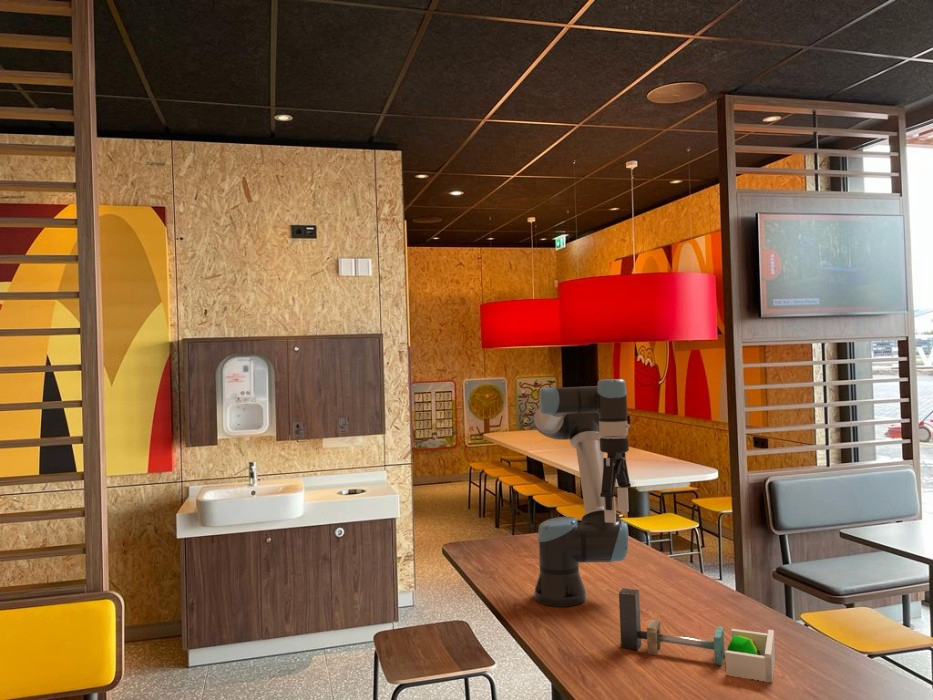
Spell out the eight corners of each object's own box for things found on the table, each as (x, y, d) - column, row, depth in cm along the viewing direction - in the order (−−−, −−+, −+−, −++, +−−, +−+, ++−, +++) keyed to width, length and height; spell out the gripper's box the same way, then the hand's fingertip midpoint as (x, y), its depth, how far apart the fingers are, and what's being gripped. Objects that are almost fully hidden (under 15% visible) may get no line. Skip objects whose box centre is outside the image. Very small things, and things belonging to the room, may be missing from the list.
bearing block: (647, 653, 158) (646, 627, 158) (652, 644, 163) (651, 619, 163) (656, 655, 157) (655, 628, 157) (661, 646, 162) (660, 620, 162)
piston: (619, 649, 160) (617, 595, 161) (626, 638, 167) (624, 586, 167) (721, 665, 150) (718, 607, 150) (724, 653, 156) (722, 597, 156)
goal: (726, 675, 146) (725, 647, 146) (732, 649, 159) (731, 624, 159) (772, 683, 142) (770, 654, 142) (775, 656, 155) (773, 630, 155)
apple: (734, 634, 150) (753, 623, 156) (715, 647, 153) (734, 635, 159) (756, 665, 146) (774, 652, 152) (736, 677, 149) (755, 664, 155)
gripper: (615, 442, 165) (619, 528, 164) (638, 432, 187) (641, 508, 186) (586, 441, 168) (589, 526, 167) (612, 432, 190) (615, 506, 189)
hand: (617, 516), depth 177 cm, fingers open, 13 cm apart
